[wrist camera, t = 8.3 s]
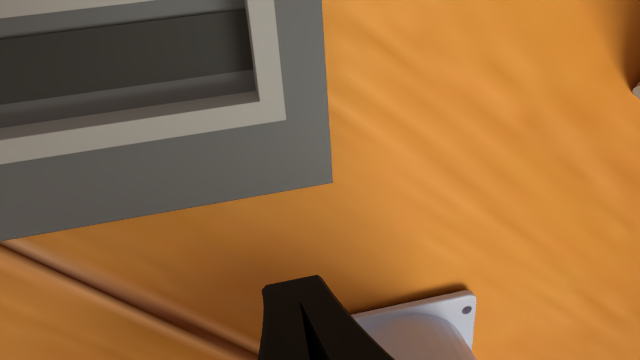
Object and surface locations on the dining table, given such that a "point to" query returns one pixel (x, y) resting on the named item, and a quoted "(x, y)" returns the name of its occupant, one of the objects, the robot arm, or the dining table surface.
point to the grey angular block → (637, 90)
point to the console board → (156, 107)
